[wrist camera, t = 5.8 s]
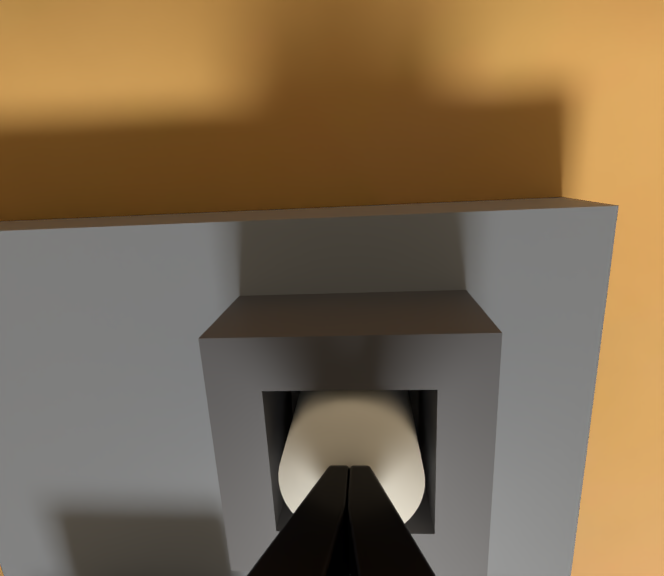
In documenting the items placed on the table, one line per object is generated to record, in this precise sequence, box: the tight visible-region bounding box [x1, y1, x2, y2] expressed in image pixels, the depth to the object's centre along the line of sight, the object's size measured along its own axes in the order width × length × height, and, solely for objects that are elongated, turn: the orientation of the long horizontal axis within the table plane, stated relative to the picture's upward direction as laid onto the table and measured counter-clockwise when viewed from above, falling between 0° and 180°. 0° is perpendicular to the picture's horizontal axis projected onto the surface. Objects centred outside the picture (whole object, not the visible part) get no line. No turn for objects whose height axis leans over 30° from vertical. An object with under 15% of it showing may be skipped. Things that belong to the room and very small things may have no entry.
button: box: [278, 390, 425, 523], centre depth 10 cm, size 3×3×3 cm
